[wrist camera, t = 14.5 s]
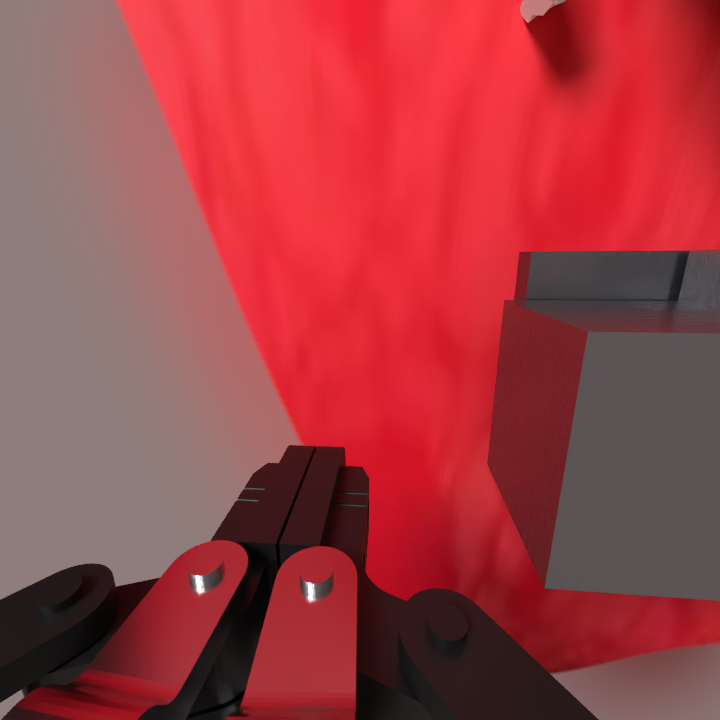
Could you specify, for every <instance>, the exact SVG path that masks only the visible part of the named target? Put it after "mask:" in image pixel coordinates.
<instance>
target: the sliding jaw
mask: <svg viewBox="0 0 720 720" xmlns="http://www.w3.org/2000/svg"><path fill="white" fill-rule="evenodd" d="M487 464H488V466H489V468H490V471H491V473H492V475H493V477H494V479H495V482H496V484H497V486H498V488H499V490H500V492H501V495H502V497H503V499H504V501H505V503H506V506H507V508H508V510H509V512H510V514H511V516H512V519H513V521H514V523H515V525H516V527H517V530H518V532H519V534H520V536H521V538H522V540H523V543H524V545H525V547H526V549H527V551H528V553H529V556H530V558H531V560H532V562H533V564H534V567H535V569H536V571H537V573H538V575H539V577H540V580H541V582H542V584H543V586H544V588H546V589H560V590H574V591H588V592H602V593H617V594H631V595H645V596H659V597H673V598H688V599H702V600H716V601H720V250H701V251H689V255H688V259H687V264H686V268H685V272H684V277H683V281H682V285H681V290H680V294H679V298H678V301H585V300H504V308H503V318H502V328H501V337H500V347H499V357H498V366H497V376H496V386H495V395H494V405H493V415H492V424H491V434H490V444H489V453H488V463H487Z"/></svg>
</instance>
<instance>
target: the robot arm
mask: <svg viewBox="0 0 720 720" xmlns="http://www.w3.org/2000/svg"><path fill="white" fill-rule="evenodd" d="M368 533H369V478H368V476H367V474H366V472H365V471H364V469H363V467H353V466H346V464H345V448H344V447H324V446H318V447H316V446H296V445H289V446H288V448H287V450H286V451H285V453H284V455H283V457H282V459H281V460H280V462H279V463H268V464H266V465H264V466H263V467H262V468H260V469H259V470H258V471H256V472H255V473H254V474H253V475H252V477H251V478H250V480H249V481H248V483H247V484H246V486H245V490H243V491H242V492H241V494H240V495H239V497H238V501H236V502H235V503H234V505H233V506H232V508H231V510H230V511H229V513H228V514H227V516H226V517H225V519H224V521H223V522H222V524H221V525H220V527H219V528H218V530H217V531H216V533H215V535H214V536H213V538H212V539H211V541H210V542H206V543H203V544H200V545H197V546H195V547H193V548H191V549H189V550H187V551H186V552H184V553H183V554H181V555H180V556H179V557H178V558H177V559H176V560H175V561H174V562H173V563H172V564H171V565H170V566H169V567H168V569H167V570H166V571H165V572H164V574H163V575H162V576H161V577H160V578H156V579H152V580H147V581H142V582H137V583H132V584H128V585H122V586H117V587H116V586H115V582H114V578H113V574H112V572H111V570H110V569H109V568H108V567H106V566H104V565H101V564H83V565H78V566H74V567H70V568H67V569H65V570H62V571H60V572H57V573H55V574H53V575H51V576H49V577H46V578H45V579H42V580H40V581H38V582H36V583H34V584H32V585H30V586H28V587H26V588H24V589H22V590H20V591H17V592H15V593H13V594H11V595H9V596H7V597H5V598H3V599H1V600H0V702H2V701H4V700H5V699H7V698H8V697H10V696H12V695H13V694H15V693H16V692H18V691H20V690H21V689H22V692H23V695H24V698H23V699H21V700H20V701H19V702H18V703H17V704H16V705H15V706H14V707H13V708H12V709H11V710H10V711H9V712H8V713H7V714H6V715H5V716H4V717H3V718H2V719H1V720H598V719H597V718H596V717H595V716H594V715H593V714H592V713H591V712H590V711H588V710H587V708H585V707H584V706H583V705H582V704H581V703H580V702H579V701H578V700H577V699H576V698H575V697H574V696H573V695H572V694H571V693H570V692H569V691H568V690H566V689H565V688H564V687H563V686H562V685H561V684H560V683H559V682H558V681H557V680H556V679H555V678H554V677H553V676H552V675H551V674H549V673H548V672H547V671H546V670H545V669H544V668H543V667H542V666H541V665H540V664H539V663H538V662H537V661H536V660H535V659H534V658H533V657H531V656H530V655H529V654H528V653H527V652H526V651H525V650H524V649H523V648H522V647H521V646H520V645H519V644H518V643H517V642H516V641H515V640H513V639H512V638H511V637H510V636H509V635H508V634H507V633H506V632H505V631H504V630H503V629H502V628H501V627H500V626H499V625H498V624H496V623H495V622H494V621H493V620H492V619H491V618H490V617H489V616H488V615H487V614H486V613H485V612H484V611H483V610H482V609H481V608H480V607H478V606H477V605H476V604H475V603H474V602H473V601H471V600H470V599H468V598H467V597H465V596H463V595H461V594H459V593H457V592H454V591H451V590H447V589H437V588H434V589H427V590H423V591H420V592H418V593H417V594H415V595H413V596H412V597H411V598H410V599H409V600H408V601H405V600H403V599H400V598H398V597H395V596H392V595H390V594H388V593H386V592H384V591H383V590H381V589H380V588H378V587H377V586H376V585H375V584H374V583H373V582H372V581H371V580H370V579H369V577H368V576H367V574H366V572H365V571H366V558H367V545H368Z"/></svg>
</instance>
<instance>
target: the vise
mask: <svg viewBox="0 0 720 720" xmlns="http://www.w3.org/2000/svg"><path fill="white" fill-rule="evenodd" d="M688 255H689V251H572V252H520V254H519V263H518V272H517V281H516V290H515V299H514V300H585V301H678V298H679V294H680V290H681V285H682V281H683V277H684V272H685V268H686V264H687V259H688Z"/></svg>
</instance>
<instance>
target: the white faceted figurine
mask: <svg viewBox="0 0 720 720" xmlns="http://www.w3.org/2000/svg"><path fill="white" fill-rule="evenodd" d="M565 1H566V0H522V4H521V6H520V11H521V15H522V17H523V18H524V19H525V21H526V22H527V23H529V22H530V21H531V20H532V19H534V18H535V17H536V16H538V15H541V16H543V15H544V14H545V13H546V12H547V10H548V9H550V8H551V7H553V6H555V5H558V4H560V3H563V2H565Z"/></svg>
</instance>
